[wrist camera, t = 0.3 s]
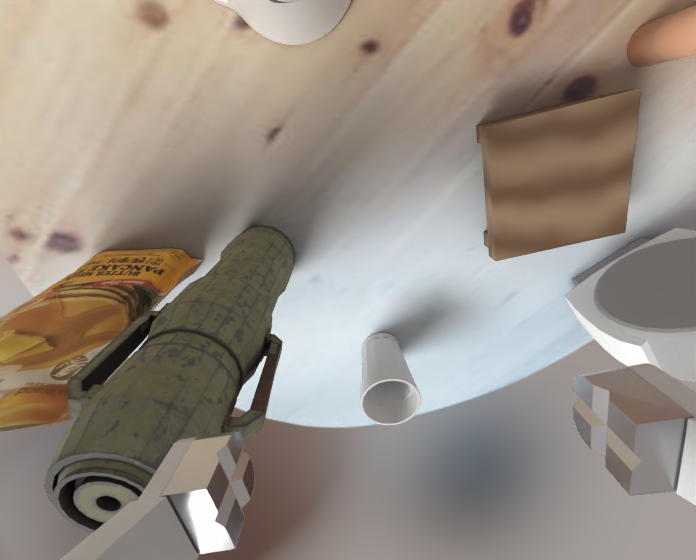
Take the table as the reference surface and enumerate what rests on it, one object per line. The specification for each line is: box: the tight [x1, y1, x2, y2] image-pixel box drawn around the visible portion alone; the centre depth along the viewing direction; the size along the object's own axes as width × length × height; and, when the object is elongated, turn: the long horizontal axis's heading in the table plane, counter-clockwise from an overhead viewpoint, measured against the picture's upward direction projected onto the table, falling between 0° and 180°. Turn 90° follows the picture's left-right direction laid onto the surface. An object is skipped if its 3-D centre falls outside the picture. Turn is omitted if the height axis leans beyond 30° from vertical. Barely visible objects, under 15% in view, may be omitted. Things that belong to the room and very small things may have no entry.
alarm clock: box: [565, 228, 696, 381], centre depth 40 cm, size 18×8×20 cm, turn 129°
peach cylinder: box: [627, 5, 696, 67], centre depth 34 cm, size 4×4×10 cm
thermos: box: [44, 225, 295, 532], centre depth 31 cm, size 9×12×35 cm
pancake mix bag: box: [0, 248, 203, 431], centre depth 35 cm, size 7×19×28 cm, turn 92°
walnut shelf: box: [476, 88, 641, 261], centre depth 41 cm, size 16×16×6 cm
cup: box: [360, 333, 421, 425], centre depth 49 cm, size 8×8×12 cm
